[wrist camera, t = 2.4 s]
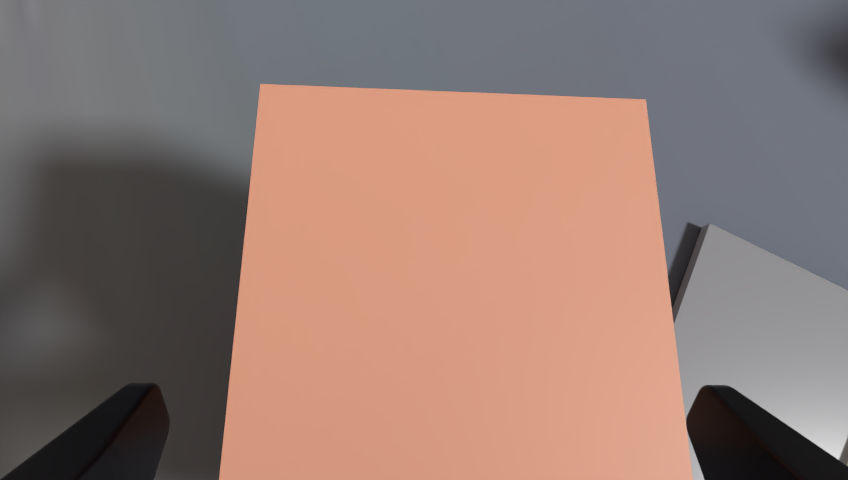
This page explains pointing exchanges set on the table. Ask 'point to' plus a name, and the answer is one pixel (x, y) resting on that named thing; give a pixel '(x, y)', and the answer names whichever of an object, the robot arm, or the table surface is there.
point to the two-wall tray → (764, 337)
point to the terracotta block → (453, 292)
